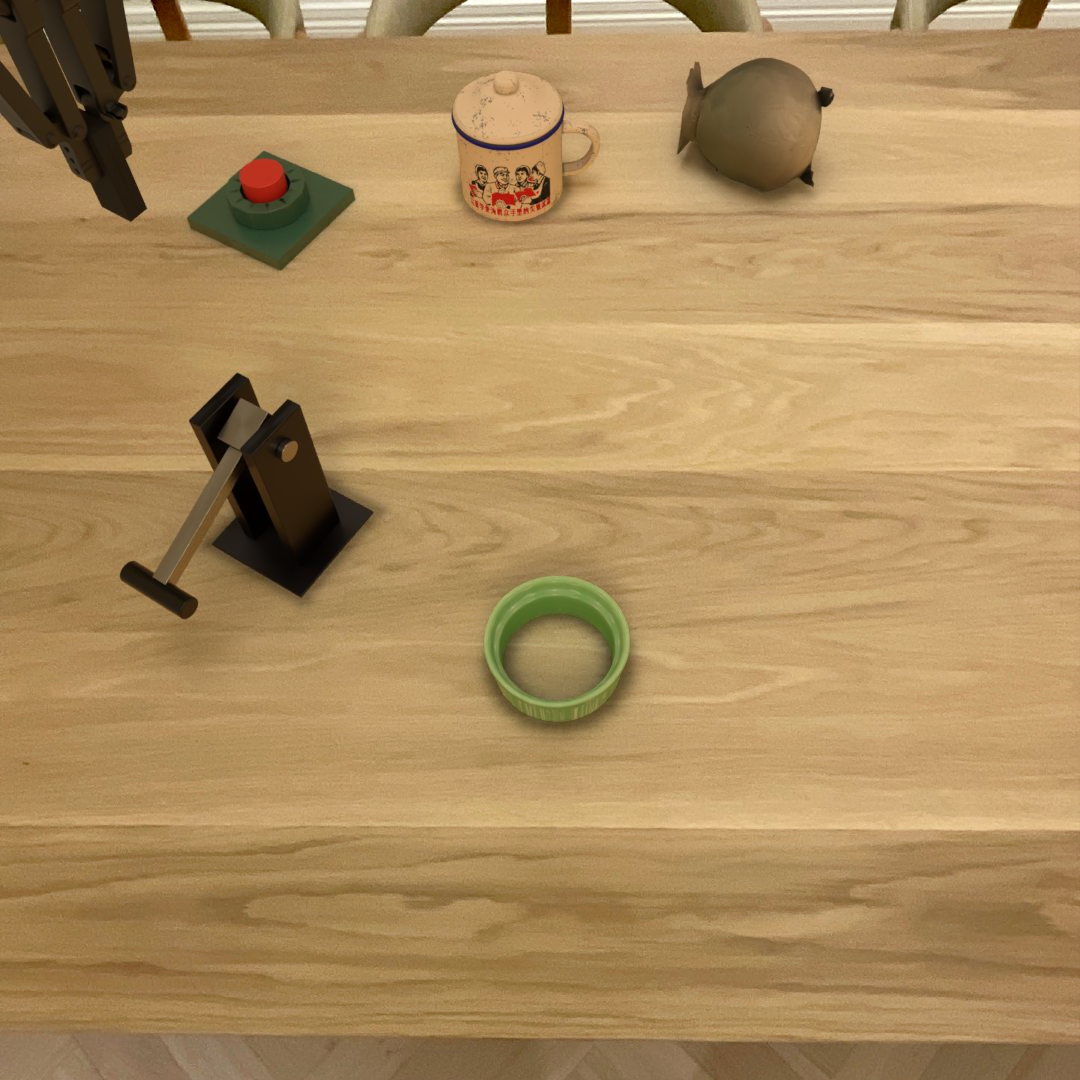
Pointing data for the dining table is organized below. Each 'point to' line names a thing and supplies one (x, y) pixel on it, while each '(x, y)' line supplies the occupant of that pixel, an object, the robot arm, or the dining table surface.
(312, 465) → the bracket
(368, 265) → the dining table surface
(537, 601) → the ramekin
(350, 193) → the button box
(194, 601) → the lever
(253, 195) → the button
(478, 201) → the teacup with lid
